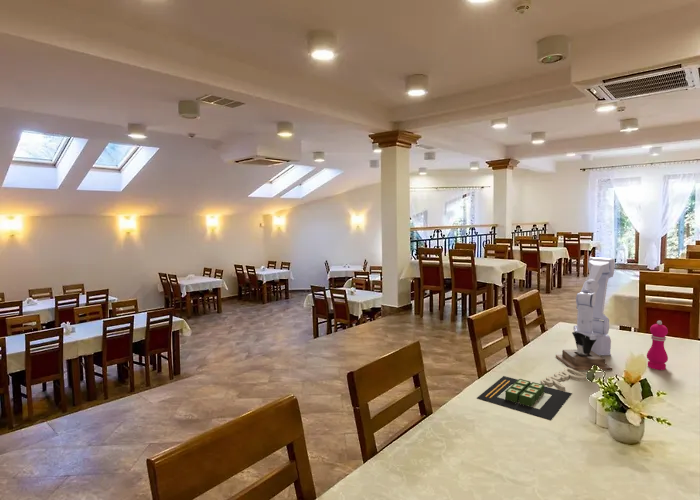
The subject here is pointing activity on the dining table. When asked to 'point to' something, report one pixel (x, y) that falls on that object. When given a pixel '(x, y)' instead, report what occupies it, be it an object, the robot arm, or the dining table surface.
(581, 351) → the peg
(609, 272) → the robot arm
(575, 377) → the decorative sign
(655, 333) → the pepper mill
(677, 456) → the dining table surface
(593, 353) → the socket board
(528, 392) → the sushi
